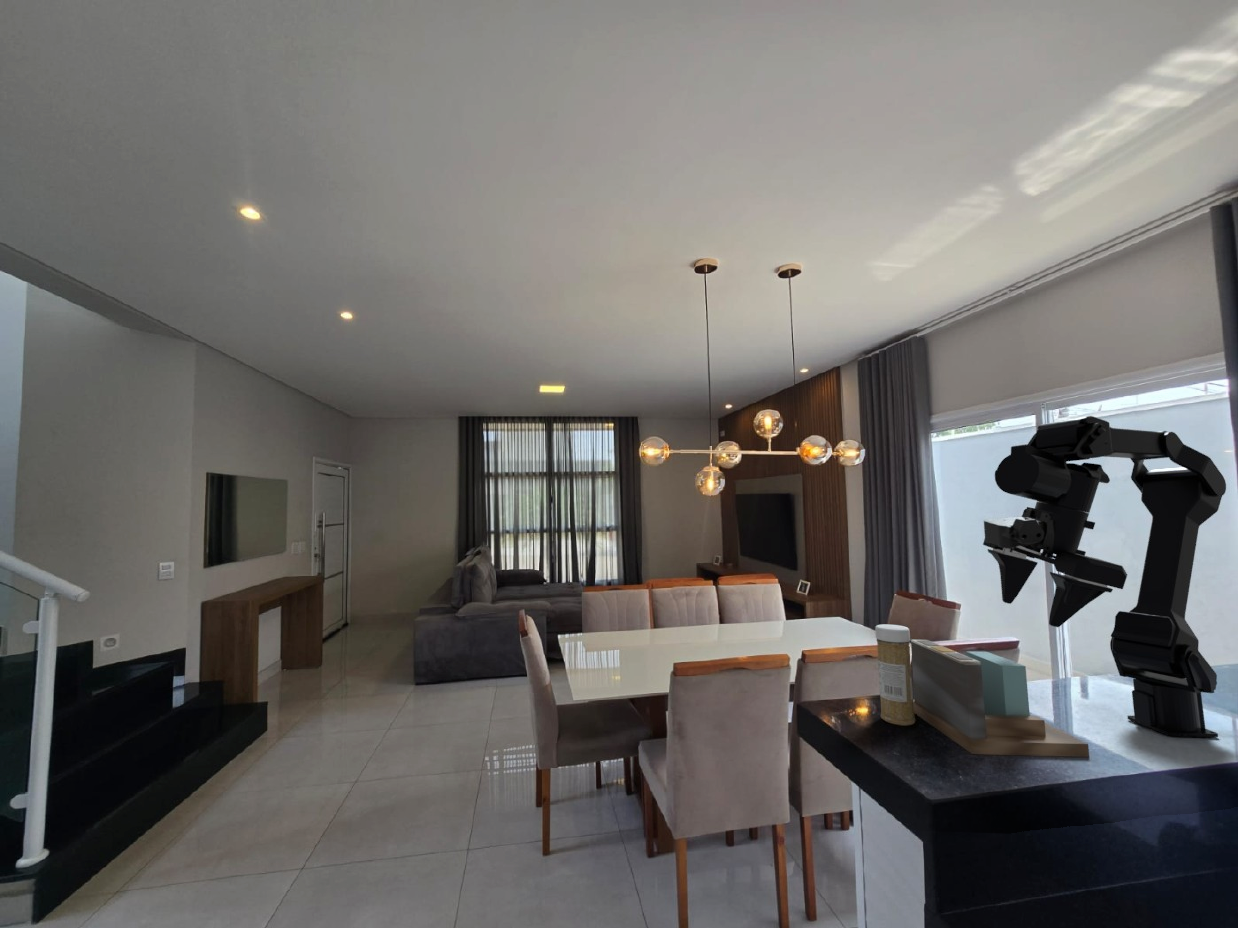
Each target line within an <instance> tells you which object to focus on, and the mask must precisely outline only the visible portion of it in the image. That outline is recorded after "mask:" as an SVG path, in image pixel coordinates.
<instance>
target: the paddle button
mask: <svg viewBox="0 0 1238 928" xmlns="http://www.w3.org/2000/svg"><path fill="white" fill-rule="evenodd" d="M965 656H968V657H970V658H973V659H975V660H977V661H980V665H981V669H982V682H983V695H984V708H985V715H1014V716H1030V715H1031V714H1030V704H1029V692H1028V691H1029V689H1028V681H1027V669H1026V668H1027V667H1026V665H1024V664H1021V663H1017V662H1016V661H1013V660H1010V659H1007V658H1005V657H1002V656H999V655H997V654H994V653H993V652H992V653H991V652H988V651H972V650H971V651H965Z"/></svg>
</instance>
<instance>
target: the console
mask: <svg viewBox="0 0 1238 928" xmlns="http://www.w3.org/2000/svg"><path fill="white" fill-rule="evenodd" d="M910 648H911V650H910V651H911V664H912V666H911V667H912V684H913V706H914V708H913V709H914V715H916V714H917V715H916V716H917V717H919V718H920V719H922V720H923V721H925V723H928V724H929V725H930V726H931V727H933V728H935V729H936V730H937V731H939V732H940V733H942V734H943V735H944V736H946V737H948V738H949V739H951V741H953V742H954V743H956V744H958V745H959V746H960V747H962V748H963V749H965V750H966V751H967V752H969V753H970V754H971V755H991V756H992V755H993V756H994V755H996V756H998V755H1002V756H1036V757H1038V756H1039V757H1043V756H1044V757H1081V758H1083V757H1085V758H1089V757H1090V751H1089V750H1090V749H1089V743H1087V742H1085V741H1083V740H1081V739H1080V738H1077V737H1075V736H1073V735H1071V734H1069V733H1067V732H1065V731H1063V730H1061V729H1059V728H1057V727H1055V726H1053V725H1051V724H1049V723H1047V722H1046V721H1045V719H1043V718H1041V717H1039V716H1037V715H1031V714H1030V716H1014V715H985V708H984V695H983V682H982V669H981V665H980V661H977V660H975V659H973V658H970V657H968V656H966V654H963V653H960V652H957V651H956V650H953V649H950V648H948V647H946V646H943V645H941V644H938V643H936V642H933V641H931V640H929V639H910Z"/></svg>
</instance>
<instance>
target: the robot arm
mask: <svg viewBox="0 0 1238 928" xmlns="http://www.w3.org/2000/svg"><path fill="white" fill-rule="evenodd" d="M1101 457H1106V458H1108V457H1109V458H1120V459H1121V458H1122V459H1123V458H1125V459H1130V460H1131V462H1132V464H1133V467H1132V471H1131V475H1130V479H1131V481H1132V482H1133V483H1134V485H1135V486H1136V487H1137V489H1138V490H1139V491H1140V493H1141V500H1140V501H1141V502H1142V504H1143V506H1144V507H1145V508H1146V510H1147V511H1148V512H1149V514H1150V515H1151V516H1152V519H1151V525H1150V530H1149V531H1150V532H1149V536H1148V542H1147V547H1146V552H1145V553H1146V554H1145V559H1144V563H1143V570H1142V575H1141V580H1140V585H1139V592H1138V597H1137V603H1136V606H1134V607H1133V608H1131V610H1129V611H1124V610H1120V611H1118V612H1117V613H1116V615H1115V617H1114V626H1113V630H1112V632H1111V635H1110V637H1111V639H1110V641H1109V642H1110V644H1109V646H1110V651H1111V654H1112V657H1113V661H1114V662H1115V666H1116V669H1117V672H1118V674H1119V676H1120V677H1123V678H1129V679H1130V678H1131V679H1133V681H1132V683H1133V690H1131V697H1132V706H1133V715H1127V716H1126V717H1127V720H1129V721H1132V722H1134V723H1136V724H1138V725H1141V726H1144V727H1146V728H1149V729H1151V730H1152V731H1153V730H1154V731H1156V732H1158V733H1161V734H1163V735H1166V736H1170V737H1193V738H1196V737H1198V738H1199V737H1202V738H1218V737H1219V733H1218V732H1216V731H1213V730H1211V729H1208V728H1206V723H1205V722H1206V721H1205V715H1204V714H1205V713H1204V706H1203V698H1202V697H1203V696H1202V693H1204V694H1205V693H1206V694H1214V693H1215V691H1216V689H1217V685H1218V682H1217V681H1218V679H1217V678H1218V675H1217V672H1215V670H1214V669H1213V667H1211V665H1210V664H1209V662H1208V660H1206V658H1205V657H1204V656H1203V655H1202V653H1201V652H1200V651H1199V639H1198V637H1197V636H1196V634H1195V632H1194V631H1193V629H1192V628H1191V626H1190V625H1189V623H1188V622H1187V621H1186V611H1187V604H1188V601H1189V600H1188V598H1189V593H1190V587H1191V581H1192V580H1191V579H1192V572H1193V567H1194V560H1195V554H1196V548H1197V541H1198V534H1199V529H1200V526H1201V525H1202V524H1204V523H1205V522H1206V521H1207V520H1209V519H1210V518H1211V517H1213V516H1214V515H1215V514H1216V513H1218V511H1219V508H1220V504H1221V502H1222V501H1221V500H1222V498H1223V496H1224V495H1225V494H1226V490H1227V483H1226V479H1225V478H1224V476H1223V474H1222V473H1221V471H1220V470H1219V468H1218V466H1216V464H1215V463H1214V461H1213V459H1211V457H1210V456H1208V455H1206V454H1204V453H1202V452H1200V451H1198V450H1196V449H1194V448H1193V447H1190V446H1188V445H1187V444H1184V443H1183V441H1182V440H1181V438H1180V437H1179V436H1178V435H1177V434H1176V432H1174V431H1167V430H1161V431H1160V430H1159V431H1153V430H1150V431H1149V430H1141V429H1140V430H1139V429H1129V428H1127V429H1126V428H1116V427H1111V426H1110V422H1109V421H1107V420H1105V419H1103V418H1099V417H1096V416H1093V415H1088V416H1082V417H1077V418H1071V419H1065V420H1059V421H1053V422H1045V423H1041V424H1039V425H1038V426H1037V430H1036V432H1035V433H1034V434H1033V436H1031V438H1030V440H1029V441H1028V443H1027V444H1020V445H1019V444H1018V445H1012V446H1011V447H1010V454H1008V455H1007V456H1006V457H1004V458H1003V459H1002V461H1001V462H1000V463H999V464H998V467H997V468H996V469H995V471H994V480H995V483H996V486H997V487H998V488H999V489H1000V490H1001V491H1002V492H1004V493H1006V494H1009V495H1012V496H1017V497H1021V498H1024V499H1025V498H1026V499H1030V500H1033V501H1036V503H1035V505H1034V508H1033V507H1028V506H1027V507H1026V508H1025V509H1024V510H1023V512H1022V515H1021V516H1017V517H1015V516H1013V517H999V518H989V519H984V520H983V528H984V529H983V531H984V539H983V542H982V545H983V546H985V547H988V549H987V552H988V553H989V554H991V555H992V557H993V558H994V560H995V561H996V562H997V565H998V568H999V575H1000V587H1001V600H1002V602H1003V603H1005V604H1012V603H1013V602H1014V600H1016V598H1017V597H1018V595H1019V593H1020V592H1021V591H1022V589H1023V587H1024V586H1025V584H1026V583H1027V581H1028V580H1029V578H1030V576H1031V575H1032V573H1033V571H1034V570H1035V568H1036V567H1037V565H1038V562H1037V561H1034V560H1032V559H1037V560H1040V561H1043V562H1045V563H1049V564H1052V565H1054V568H1055V571H1056V572H1053V571H1049V574H1050V576H1051V578H1052V580H1053V582H1054V584H1055V589H1054V595H1053V599H1052V604H1051V607H1050V608H1051V609H1050V613H1049V620H1048V624H1049V626H1051V627H1055V628H1060V627H1061V626H1062V625H1064V624H1065V623H1066V622H1067V621H1068V620H1069V619H1071V618H1072V617H1073V616H1074V615H1076V614H1077V613H1078V612H1079V611H1080V610H1082V609H1083V608H1084V607H1085V606H1087V605H1088V604H1090V603H1091V602H1093V601H1094V600H1095V599H1097V598H1098V597H1100V596H1102V595H1103V594H1104V593H1110V594H1111V593H1112V592H1113V588H1115V589H1120V590H1123V589H1124V587H1125V584H1126V580H1127V578H1128V574H1127V572H1126V570H1125V568H1124V567H1123V565H1120V564H1116V563H1113V562H1110V561H1107V560H1103V559H1099V558H1096V557H1093V556H1088V555H1086V551H1085V550H1081V549H1079V547H1080V543H1081V540H1082V536H1083V534H1084V531H1085V529H1089V530H1092V531H1093V530H1094V528H1095V525H1096V522H1095V521H1092V520H1091V521H1090V520H1088V518H1089V515H1090V511H1091V508H1092V505H1093V502H1094V499H1095V495H1096V493H1097V490H1098V487H1099V484H1101V483H1103V484H1109V483H1110V482H1111V480H1110V477H1109V475H1108V474H1107V473H1106V472H1105V471H1104V469H1103V467H1102V465H1101V464H1098V463H1091V462H1083V463H1081V464H1078V463H1071V462H1073V461H1074V462H1075V461H1083V460H1084V461H1085V460H1091V459H1095V458H1101ZM1156 459H1169V460H1170V461H1171V462H1172V463H1174V464H1176V465H1178V466H1180V467H1174V468H1172V467H1170V468H1169V467H1168V468H1160V469H1159V468H1157V469H1151V470H1149V469H1148V468H1147V467H1146V466H1145V464H1144V462H1145V460H1146V461H1147V460H1156ZM1068 462H1069V463H1068ZM989 548H991V549H989ZM1041 551H1042V552H1041ZM1027 557H1028V558H1027ZM1029 558H1031V559H1029ZM1057 572H1059V573H1057ZM1060 573H1061V574H1060ZM1108 586H1109V587H1108ZM1111 587H1112V588H1111Z"/></svg>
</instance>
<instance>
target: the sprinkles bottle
mask: <svg viewBox="0 0 1238 928" xmlns="http://www.w3.org/2000/svg"><path fill="white" fill-rule="evenodd" d="M874 629H875V638H876V642H877V665H878V684H879V687H878V688H879V696H880V711H881V712H880V718H881V719H882V720H883V721H884V722H886V723H889V724H892V725H897V726H905V727H906V726H912V725H915V722H916V718H915V713H914V709H913V708H914V706H913V699H914V684H913V676H912V666H911V654H910V653H911V652H910V651H911V650H910V644H911V633H910V628H909V627H907V626H904V625H900V624H890V623H889V624H887V623H886V624H884V623H883V624H877V625H876V626H875V627H874Z"/></svg>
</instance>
